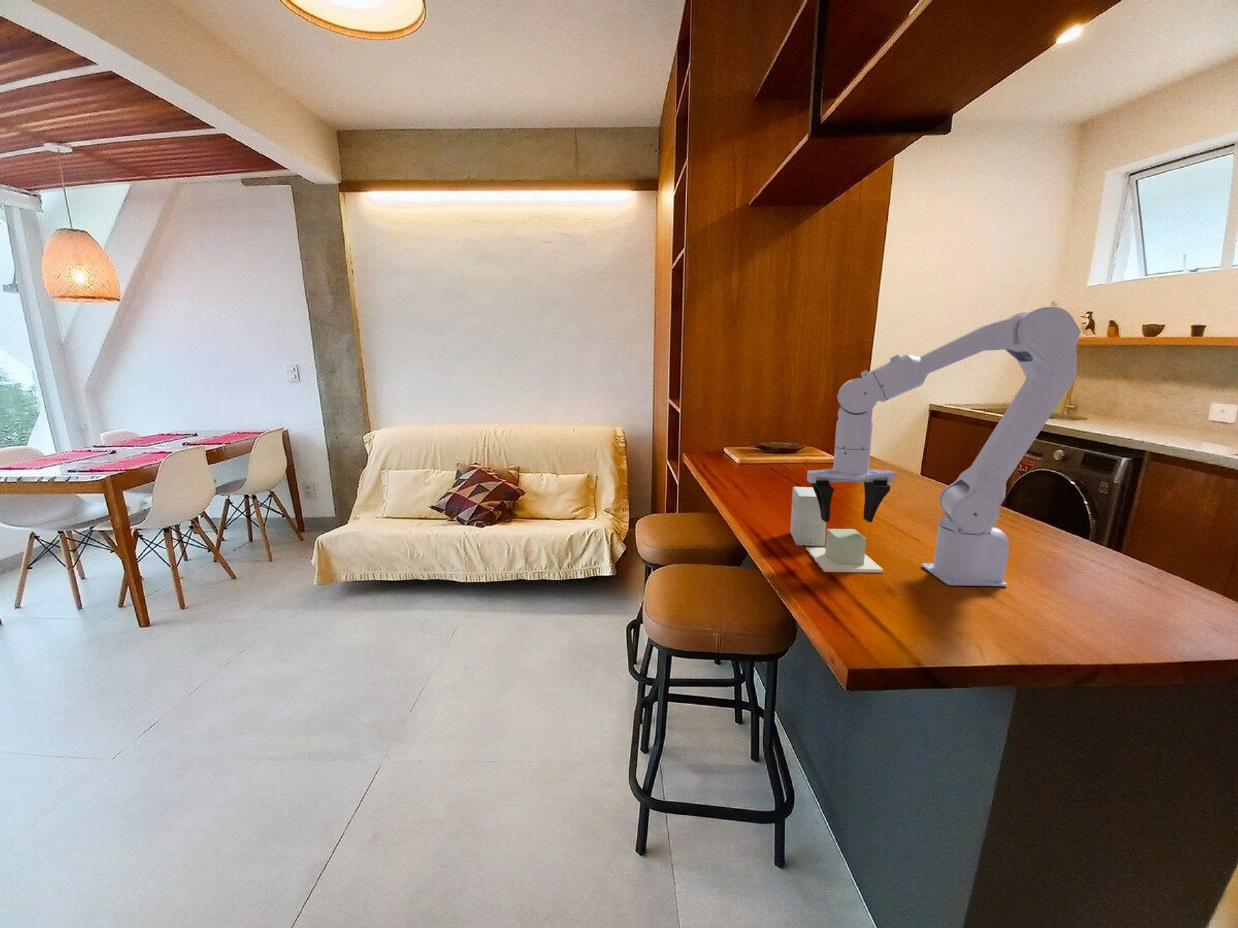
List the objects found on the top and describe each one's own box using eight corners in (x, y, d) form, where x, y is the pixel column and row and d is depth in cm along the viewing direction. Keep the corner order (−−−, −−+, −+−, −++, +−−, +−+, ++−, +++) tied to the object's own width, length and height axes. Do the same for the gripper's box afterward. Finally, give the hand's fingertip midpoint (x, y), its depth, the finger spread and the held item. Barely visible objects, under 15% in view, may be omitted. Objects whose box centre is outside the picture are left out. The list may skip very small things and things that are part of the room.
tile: (858, 550, 93) (858, 547, 93) (882, 572, 83) (883, 569, 83) (806, 550, 93) (806, 547, 93) (824, 571, 84) (824, 568, 83)
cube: (852, 553, 90) (854, 529, 89) (863, 564, 85) (866, 538, 84) (825, 553, 90) (827, 528, 89) (835, 564, 85) (837, 538, 84)
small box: (824, 547, 95) (828, 497, 92) (795, 545, 96) (798, 495, 94) (816, 533, 102) (820, 487, 100) (789, 532, 103) (792, 486, 101)
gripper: (818, 451, 80) (813, 527, 83) (906, 450, 79) (898, 527, 82) (805, 444, 87) (800, 515, 90) (886, 444, 86) (879, 515, 89)
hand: (846, 520), depth 86 cm, fingers open, 7 cm apart
